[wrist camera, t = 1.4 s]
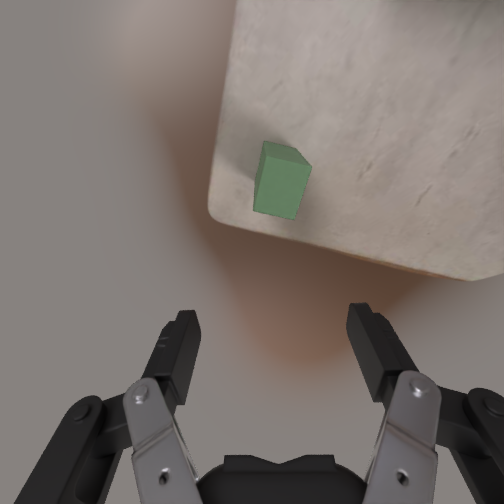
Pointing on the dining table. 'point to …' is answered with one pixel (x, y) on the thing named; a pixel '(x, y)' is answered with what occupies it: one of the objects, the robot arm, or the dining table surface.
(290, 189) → the green bar
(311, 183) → the dining table surface
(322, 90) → the dining table surface
